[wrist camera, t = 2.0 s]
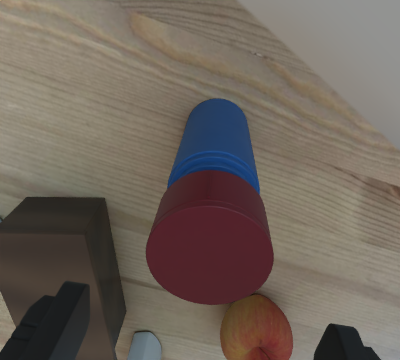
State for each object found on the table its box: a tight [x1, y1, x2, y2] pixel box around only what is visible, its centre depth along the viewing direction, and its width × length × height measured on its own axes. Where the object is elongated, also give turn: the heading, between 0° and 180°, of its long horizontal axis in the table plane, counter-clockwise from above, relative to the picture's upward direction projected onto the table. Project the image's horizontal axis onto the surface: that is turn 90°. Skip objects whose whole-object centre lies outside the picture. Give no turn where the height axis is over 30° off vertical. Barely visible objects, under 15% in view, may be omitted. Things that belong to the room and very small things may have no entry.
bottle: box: [167, 99, 260, 194], centre depth 21 cm, size 5×5×16 cm
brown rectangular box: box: [0, 197, 126, 360], centre depth 33 cm, size 17×9×7 cm, turn 2°
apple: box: [220, 295, 293, 360], centre depth 34 cm, size 7×7×8 cm
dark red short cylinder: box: [146, 170, 274, 305], centre depth 15 cm, size 5×5×3 cm
